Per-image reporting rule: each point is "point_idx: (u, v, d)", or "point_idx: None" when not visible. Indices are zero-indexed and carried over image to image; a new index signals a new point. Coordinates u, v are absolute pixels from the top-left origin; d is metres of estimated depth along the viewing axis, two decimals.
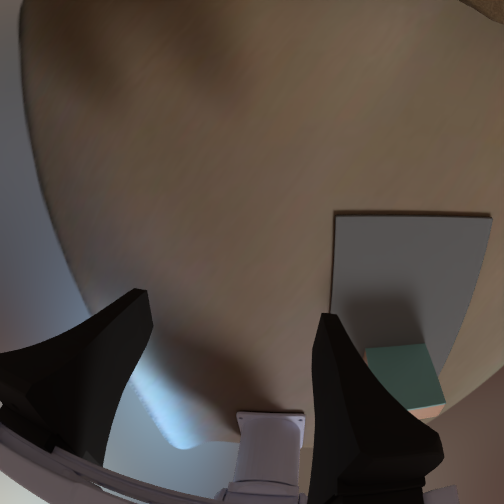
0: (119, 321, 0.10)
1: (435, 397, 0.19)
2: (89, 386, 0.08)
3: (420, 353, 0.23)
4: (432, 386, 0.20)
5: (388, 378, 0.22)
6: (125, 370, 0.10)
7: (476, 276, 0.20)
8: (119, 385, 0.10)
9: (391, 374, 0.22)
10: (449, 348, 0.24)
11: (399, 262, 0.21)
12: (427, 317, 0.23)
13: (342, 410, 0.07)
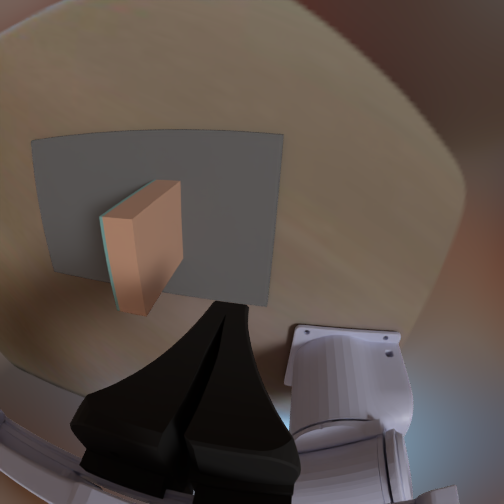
0: (214, 339, 0.10)
1: None
2: (194, 415, 0.08)
3: None
4: None
5: None
6: None
7: (72, 138, 0.19)
8: None
9: None
10: (169, 133, 0.19)
11: (69, 228, 0.23)
12: (116, 187, 0.21)
13: None
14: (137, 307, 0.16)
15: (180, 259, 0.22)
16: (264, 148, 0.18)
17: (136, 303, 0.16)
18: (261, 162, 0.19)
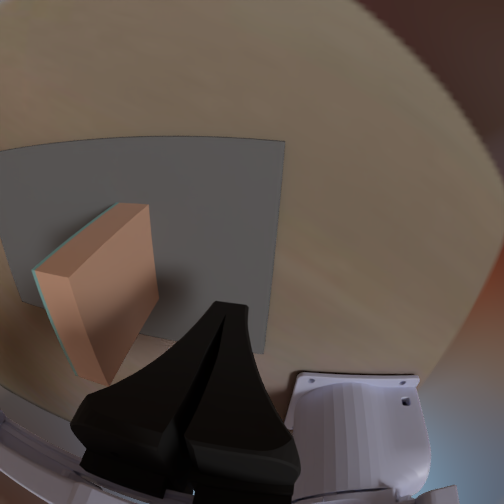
0: (214, 339, 0.10)
1: None
2: (194, 415, 0.08)
3: None
4: None
5: None
6: None
7: (23, 151, 0.14)
8: None
9: None
10: (131, 142, 0.14)
11: (30, 256, 0.18)
12: (74, 211, 0.16)
13: None
14: (96, 376, 0.12)
15: (154, 301, 0.17)
16: (258, 160, 0.13)
17: (94, 372, 0.11)
18: (254, 180, 0.14)
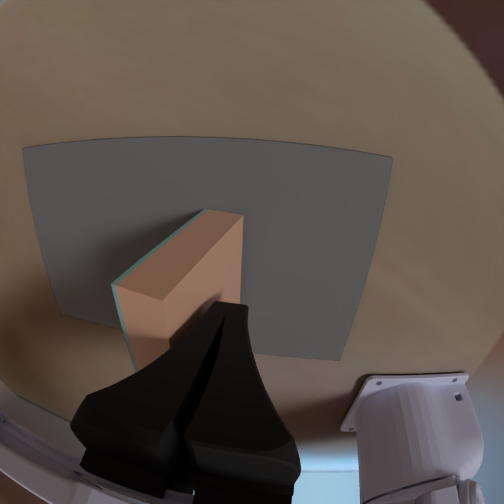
0: (214, 339, 0.10)
1: None
2: (194, 415, 0.08)
3: None
4: None
5: None
6: None
7: (79, 145, 0.14)
8: None
9: None
10: (231, 144, 0.13)
11: (78, 265, 0.18)
12: (146, 217, 0.15)
13: None
14: None
15: None
16: (367, 174, 0.13)
17: None
18: (362, 193, 0.13)
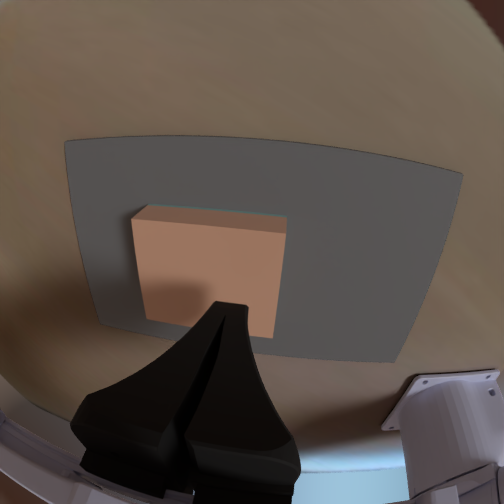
0: (214, 339, 0.10)
1: None
2: (194, 415, 0.08)
3: None
4: None
5: None
6: None
7: (143, 141, 0.13)
8: None
9: None
10: (322, 152, 0.13)
11: (129, 273, 0.17)
12: None
13: None
14: None
15: (260, 333, 0.16)
16: (442, 188, 0.13)
17: None
18: (436, 205, 0.13)
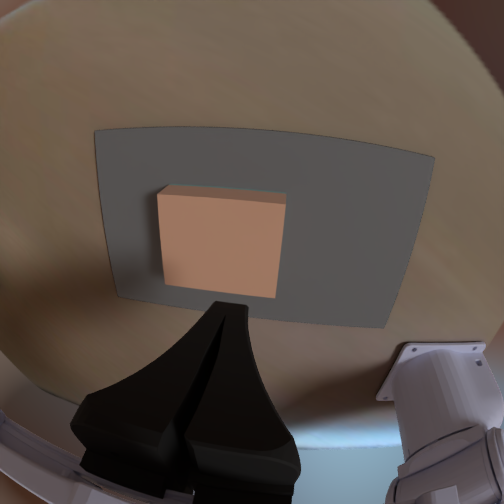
0: (214, 339, 0.10)
1: None
2: (194, 415, 0.08)
3: None
4: None
5: None
6: None
7: (166, 131, 0.16)
8: None
9: None
10: (314, 140, 0.16)
11: (149, 246, 0.20)
12: None
13: None
14: None
15: (265, 293, 0.18)
16: (416, 169, 0.16)
17: None
18: (412, 184, 0.16)
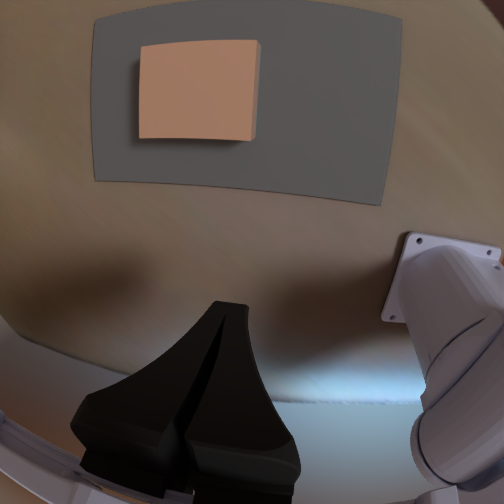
0: (214, 339, 0.10)
1: None
2: (194, 415, 0.08)
3: None
4: None
5: None
6: None
7: (156, 8, 0.15)
8: None
9: None
10: (284, 2, 0.14)
11: (130, 113, 0.18)
12: None
13: None
14: None
15: (239, 136, 0.16)
16: (385, 27, 0.13)
17: None
18: (383, 39, 0.14)
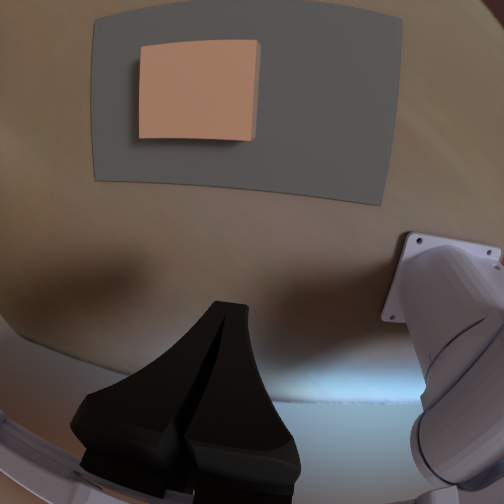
0: (214, 339, 0.10)
1: None
2: (194, 415, 0.08)
3: None
4: None
5: None
6: None
7: (156, 8, 0.15)
8: None
9: None
10: (284, 2, 0.14)
11: (130, 113, 0.18)
12: None
13: None
14: None
15: (239, 136, 0.16)
16: (385, 27, 0.13)
17: None
18: (383, 39, 0.14)
